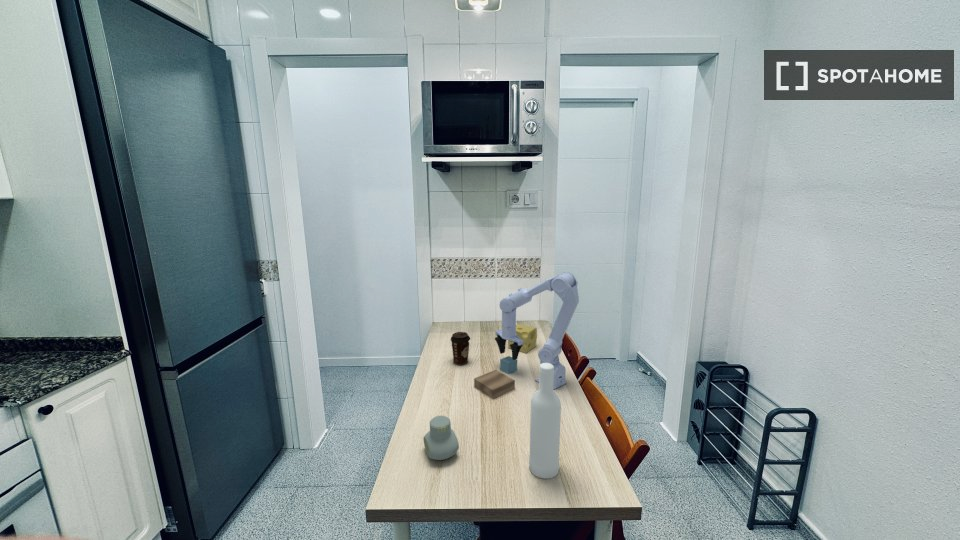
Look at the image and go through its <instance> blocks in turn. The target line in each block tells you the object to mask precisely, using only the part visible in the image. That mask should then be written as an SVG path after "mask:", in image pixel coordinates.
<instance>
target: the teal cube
mask: <svg viewBox="0 0 960 540" xmlns="http://www.w3.org/2000/svg"><path fill="white" fill-rule="evenodd" d="M499 362H500V363H499V367H500V368H499V369H500V372H501V371H502V373H505V374H507V375H510V374H512V373H515V372H517V371H518V359H515V360H513V359H512V356H510V355H507V356H505V357H502V358H500V359H499Z"/></svg>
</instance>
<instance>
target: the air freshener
mask: <svg viewBox="0 0 960 540" xmlns="http://www.w3.org/2000/svg"><path fill="white" fill-rule="evenodd" d="M451 423H452V422H451V419H450V418H449V417H448V416H446V415H436V416H434V417H433V418H431V420H430V421H429V431H428V432H426V433H425V435H424V436H423V445H424V448H425V452H426V455H427V457H428V458H430V459H432V460H435V461H442V460H447V459H450V458H451V457H453V456H454V455H455V454H456V453H457V452H458V450H459V448H460V447H459V441H458V437H457V434H456V433H455V431H454V430H453V429H452V428H451V427H452V426H451V425H452V424H451Z"/></svg>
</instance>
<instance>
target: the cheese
mask: <svg viewBox="0 0 960 540" xmlns="http://www.w3.org/2000/svg"><path fill="white" fill-rule="evenodd" d="M516 333H517V336H518V337H519V338H520V339H522V340H523V346H522V347H521V349H520V351H519V353H523V354H527V353H528V352H530V351H531V350H533V349H534V348H536V345H537V341H538V340H537V338H538V330H537V327H536V326H529V325H525V324H521V323H518V324H516ZM513 343H514V342H512V341H510V340H507V346H508V349H509V350H511V347H510V344H513Z"/></svg>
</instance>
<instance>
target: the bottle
mask: <svg viewBox="0 0 960 540" xmlns="http://www.w3.org/2000/svg"><path fill="white" fill-rule="evenodd" d="M538 372H539V373H538V375H539V376H538V378H539V382H538V389H537V390H536V391H535V390H534V392H533V393H532V397H531V399H530V416H529V417H530V420H529V421H530V423H529V425H530V427H529V457H528V458H529V459H528V461H529V462H528V464H529V470H530V472H531V473H532V474H533V475H534V476H535V477H537V478H540V479H545V480H546V479H552V478H555V477H556V476H557V475H558V472H559V471H560V470H559V469H560V468H559V467H560V443H561V442H560V441H561V440H560V438H561V437H560V436H561V414H562V403H561V399H560V396H559V394H558V393H557V392H556V391H555V389H553V381H554V366H553V365H552V364H550V363H542V364H539V368H538Z"/></svg>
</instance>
